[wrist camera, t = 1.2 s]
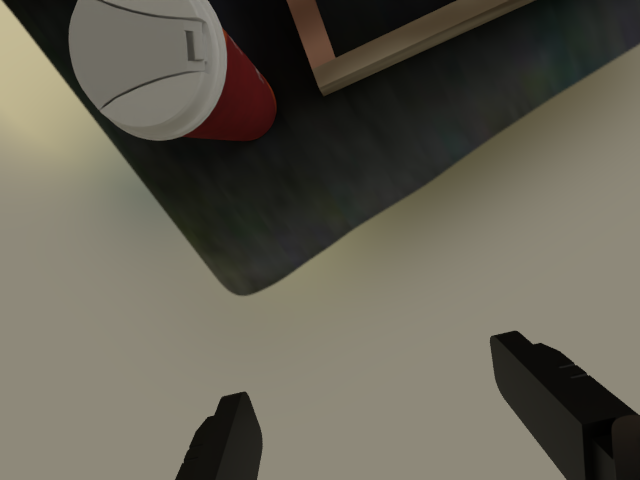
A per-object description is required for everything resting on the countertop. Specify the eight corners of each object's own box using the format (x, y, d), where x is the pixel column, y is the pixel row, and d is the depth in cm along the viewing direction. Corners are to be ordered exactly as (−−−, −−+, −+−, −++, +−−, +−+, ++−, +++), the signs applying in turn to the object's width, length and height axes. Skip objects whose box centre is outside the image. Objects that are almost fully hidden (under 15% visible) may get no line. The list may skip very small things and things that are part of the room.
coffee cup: (287, 56, 29) (207, -60, 15) (290, 152, 31) (220, 136, 16) (198, 61, 30) (40, -41, 16) (205, 154, 32) (69, 140, 17)
